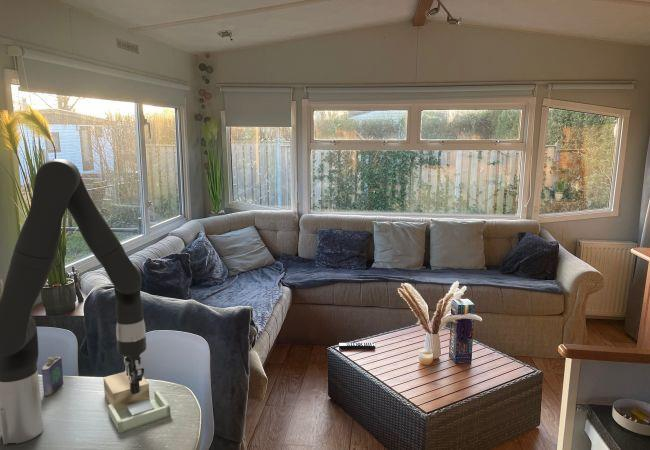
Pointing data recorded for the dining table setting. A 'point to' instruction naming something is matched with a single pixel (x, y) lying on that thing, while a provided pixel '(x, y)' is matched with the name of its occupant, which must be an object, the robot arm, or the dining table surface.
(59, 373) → the flask
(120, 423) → the tray
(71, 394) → the dining table surface
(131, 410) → the tile
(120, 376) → the cardboard box
